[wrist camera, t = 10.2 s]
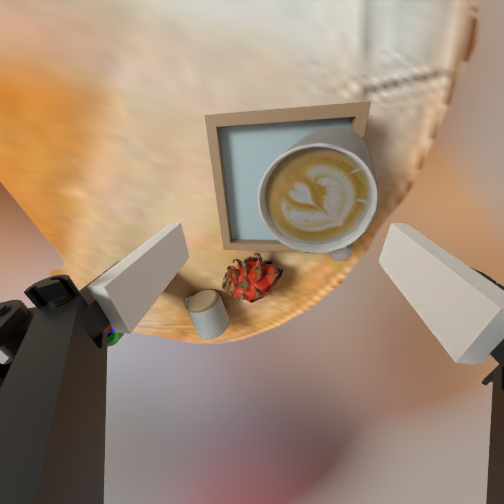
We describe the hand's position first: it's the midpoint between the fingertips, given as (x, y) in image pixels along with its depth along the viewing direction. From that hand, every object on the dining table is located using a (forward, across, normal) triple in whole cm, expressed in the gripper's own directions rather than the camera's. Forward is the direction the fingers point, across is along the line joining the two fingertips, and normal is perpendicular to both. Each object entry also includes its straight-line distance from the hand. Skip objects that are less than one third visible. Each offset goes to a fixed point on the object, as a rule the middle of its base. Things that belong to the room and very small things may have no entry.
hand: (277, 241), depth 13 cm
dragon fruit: (+21, -5, -16) cm, 27 cm away
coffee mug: (+15, +6, 0) cm, 16 cm away
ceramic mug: (+21, -16, -27) cm, 38 cm away
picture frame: (+20, 0, 0) cm, 21 cm away
